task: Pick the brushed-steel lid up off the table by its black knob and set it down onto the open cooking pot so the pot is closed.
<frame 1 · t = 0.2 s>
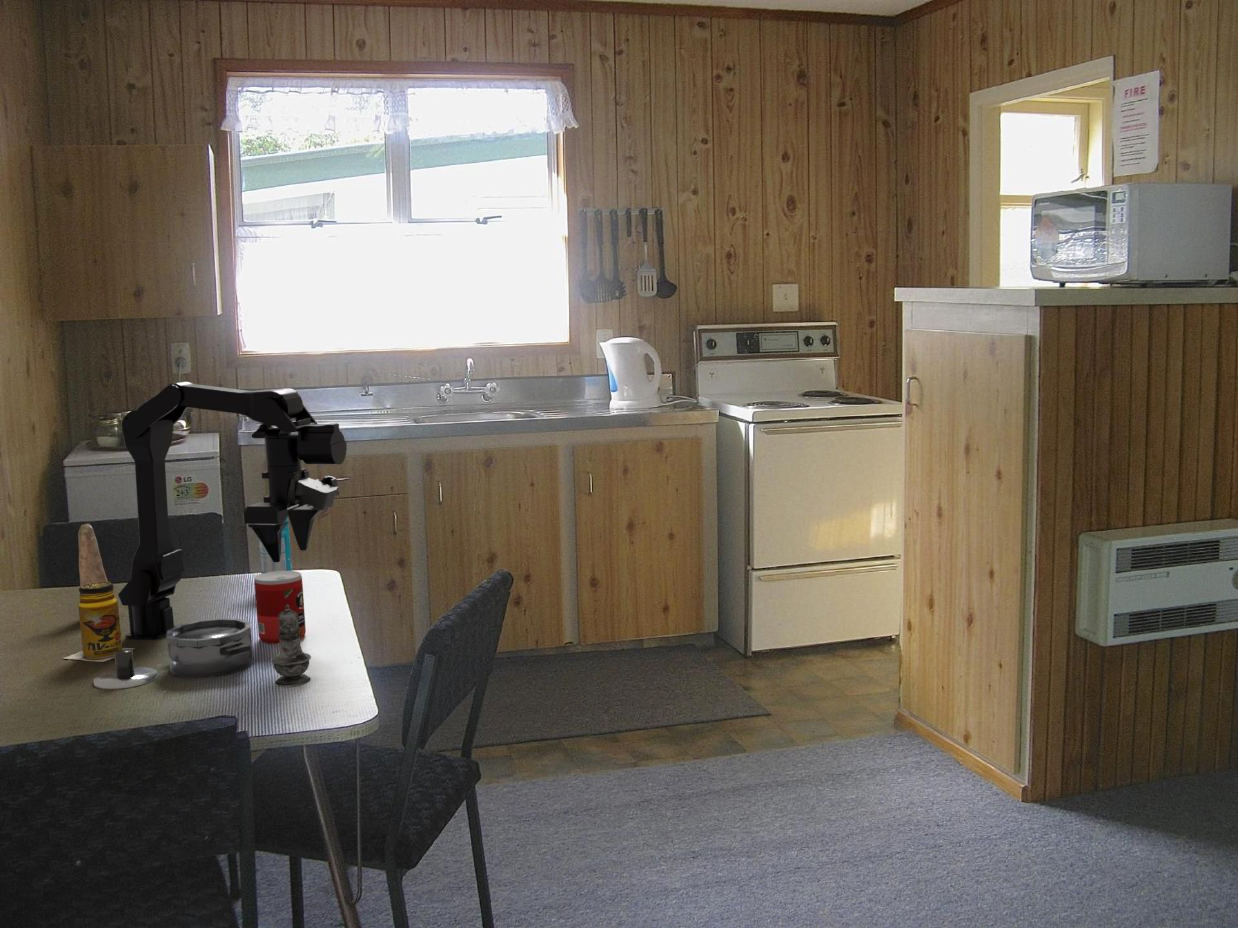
hand: (290, 556, 207), 14 cm above the table, tool pointing down, fingers open, 9 cm apart
canned food: (282, 639, 210), on the table
pot: (212, 665, 196), on the table
condiment: (99, 655, 204), on the table
salt shaker: (292, 682, 186), on the table
beverage can: (278, 590, 246), on the table
lid: (126, 681, 190), on the table
pink tall tapered cone: (100, 618, 229), on the table
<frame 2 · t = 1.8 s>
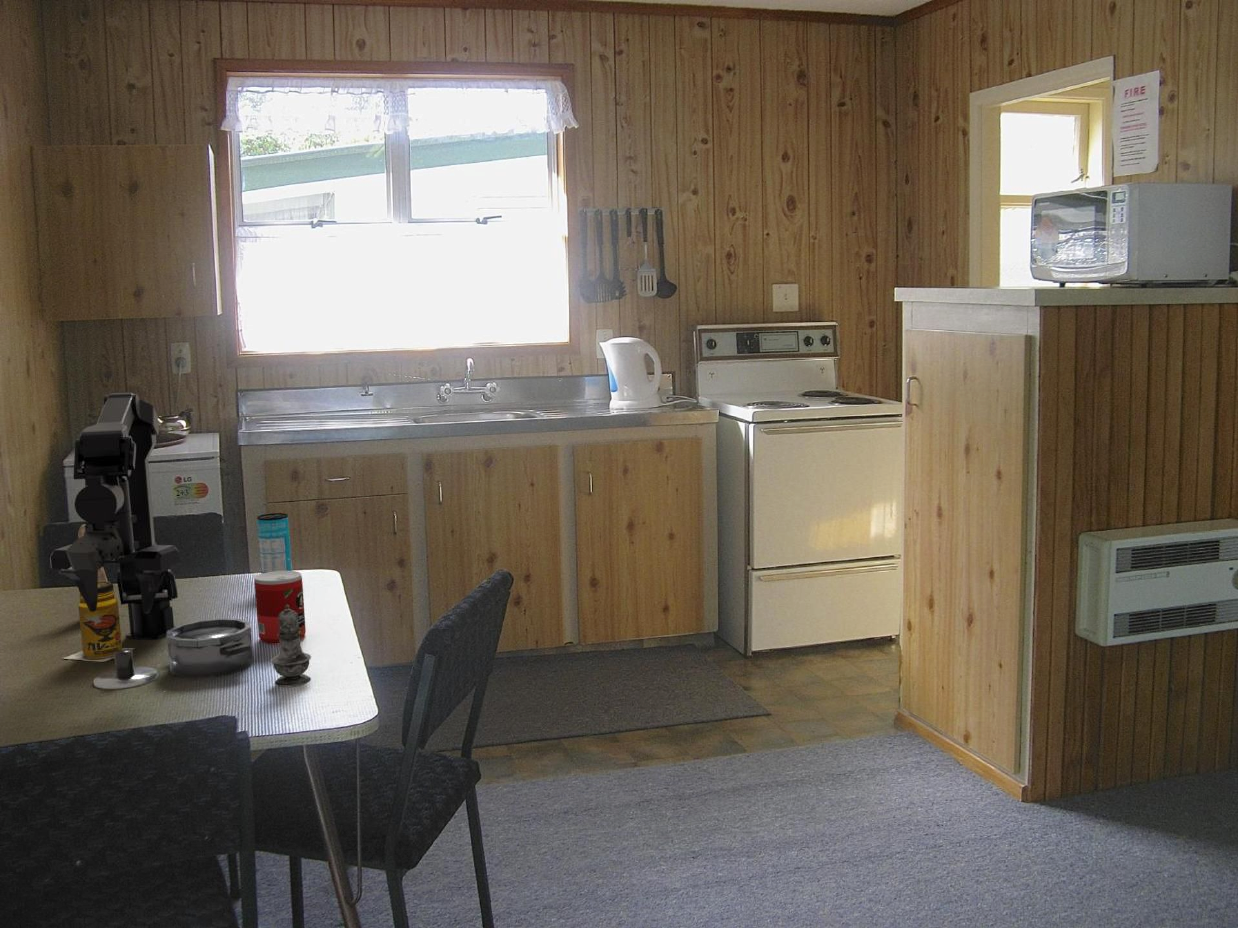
hand: (119, 611, 189), 11 cm above the table, tool pointing down, fingers open, 9 cm apart
nothing on the table moved.
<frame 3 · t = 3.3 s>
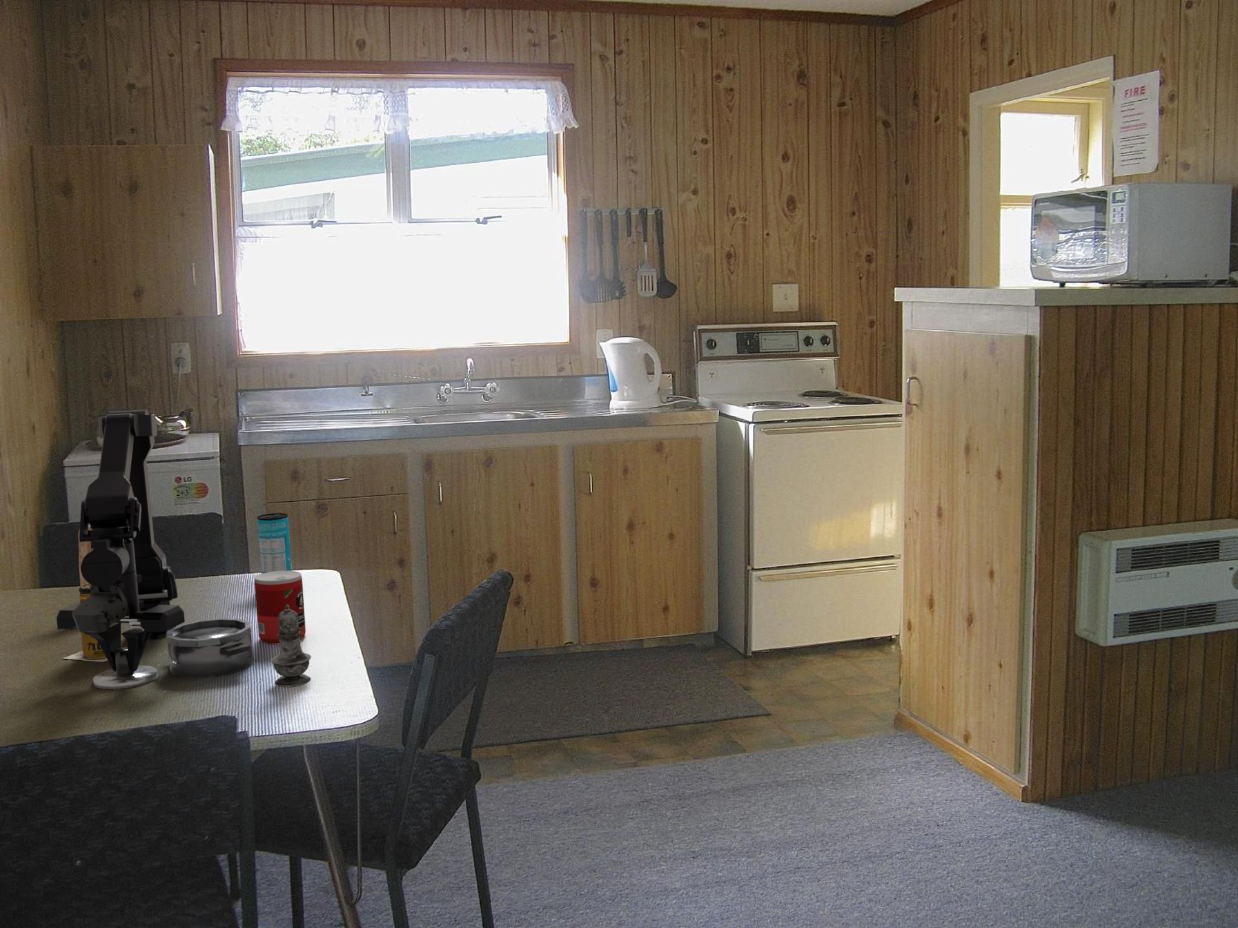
hand: (125, 671, 190), 1 cm above the table, tool pointing down, fingers closed on lid, 3 cm apart
lid: (126, 679, 190), on the table, touching gripper
everything else where it was.
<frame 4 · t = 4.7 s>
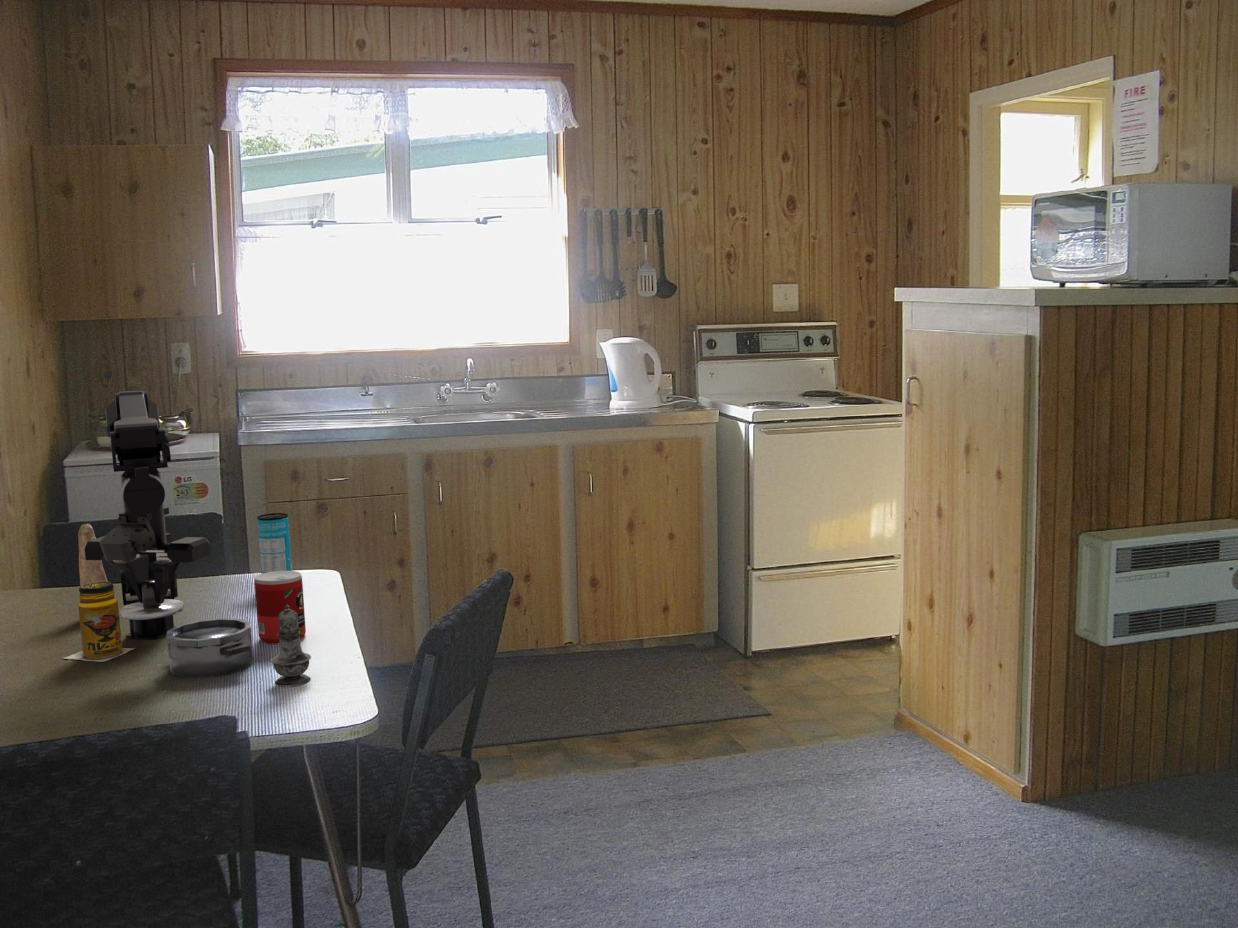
hand: (152, 603, 191), 11 cm above the table, tool pointing down, fingers closed on lid, 3 cm apart
lid: (152, 611, 191), point 10 cm above the table, touching gripper
everything else where it was.
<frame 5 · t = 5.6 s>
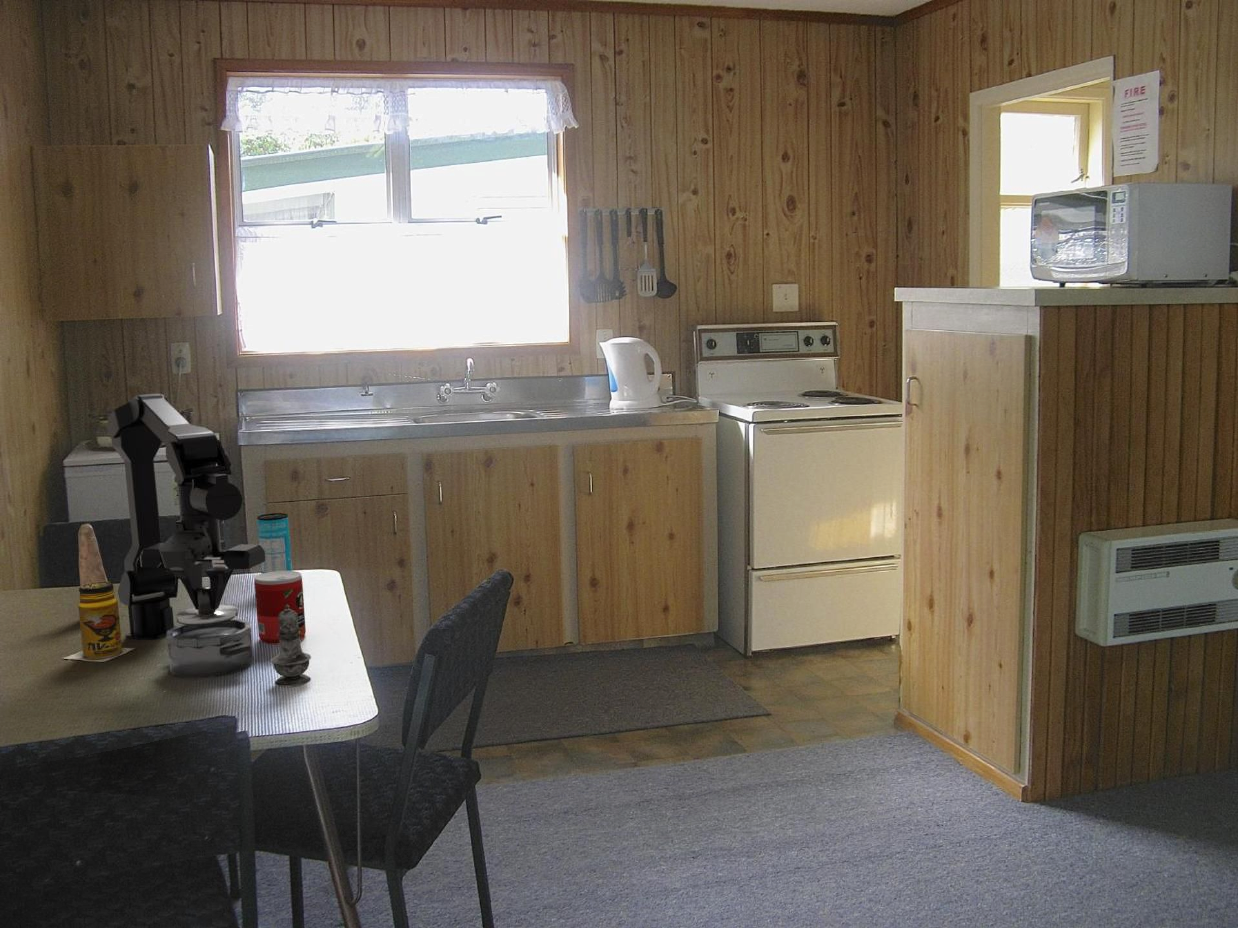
hand: (207, 609, 194), 9 cm above the table, tool pointing down, fingers closed on lid, 3 cm apart
lid: (207, 617, 195), point 8 cm above the table, touching gripper
everything else where it was.
when the fingers open (8 cm above the table, at t = 6.0 s): lid drops 1 cm, resting on pot.
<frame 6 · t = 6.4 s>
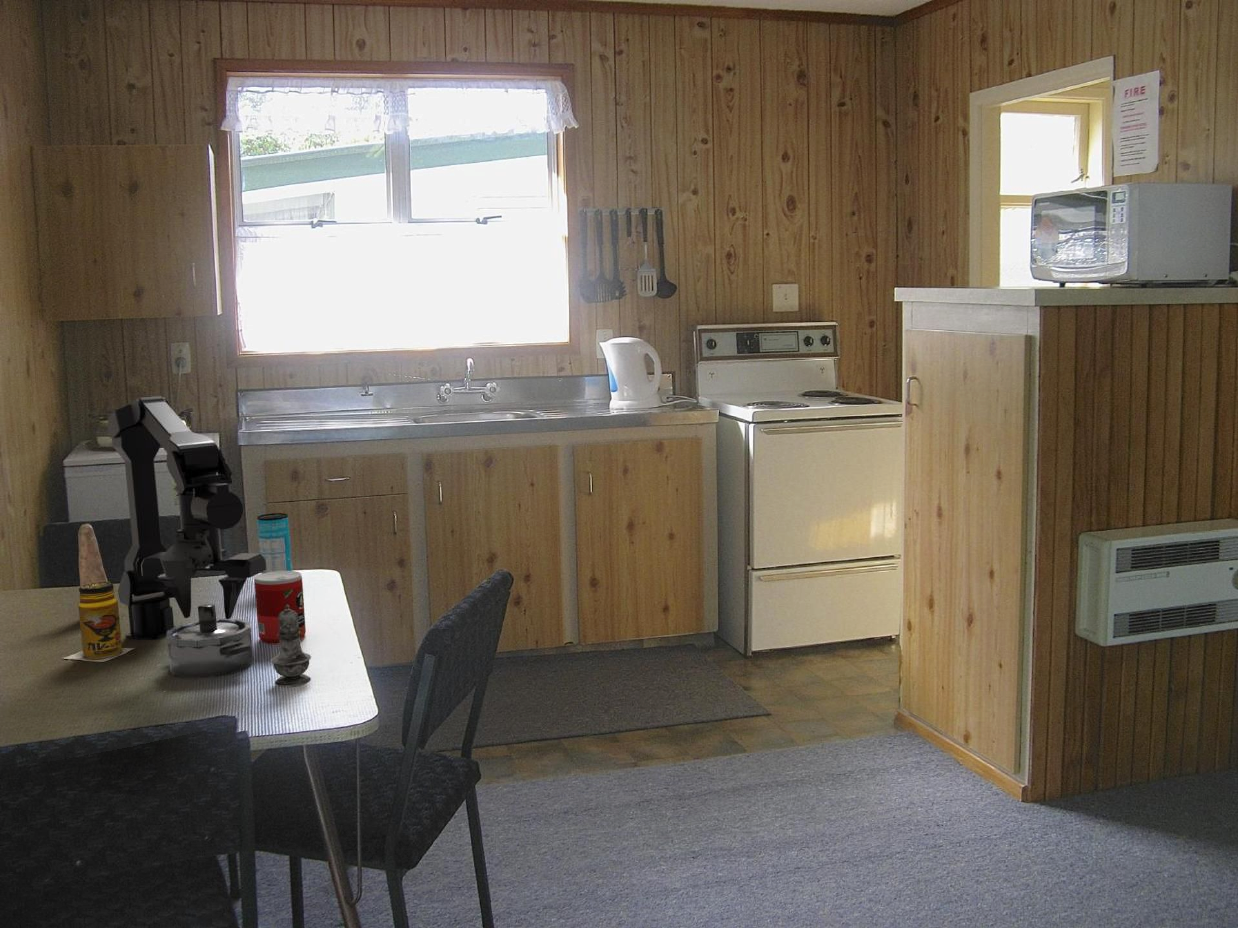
hand: (207, 617, 195), 8 cm above the table, tool pointing down, fingers open, 7 cm apart
lid: (208, 635, 195), point 5 cm above the table, touching pot
everything else where it was.
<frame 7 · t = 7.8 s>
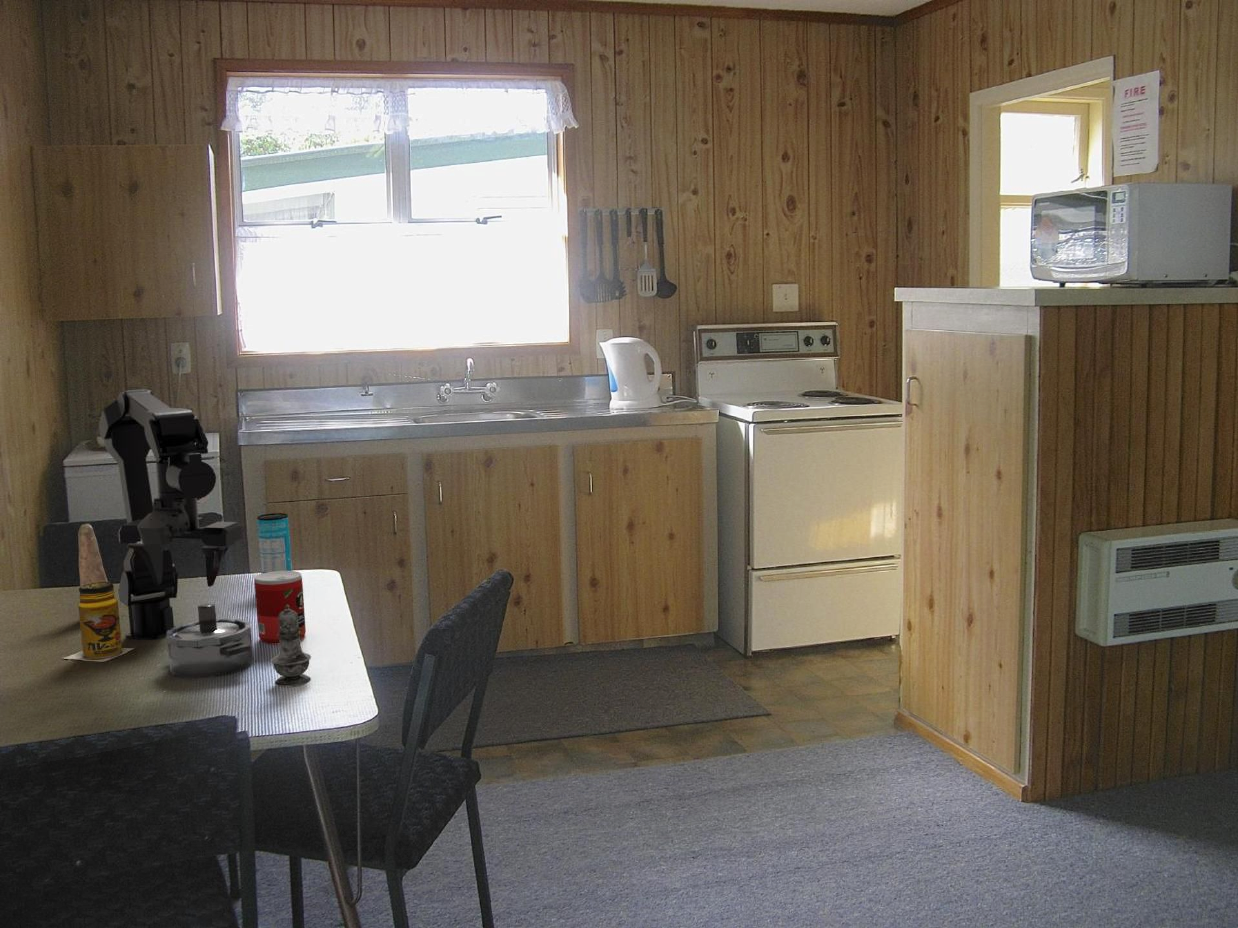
hand: (184, 584, 197), 12 cm above the table, tool pointing down, fingers open, 9 cm apart
nothing on the table moved.
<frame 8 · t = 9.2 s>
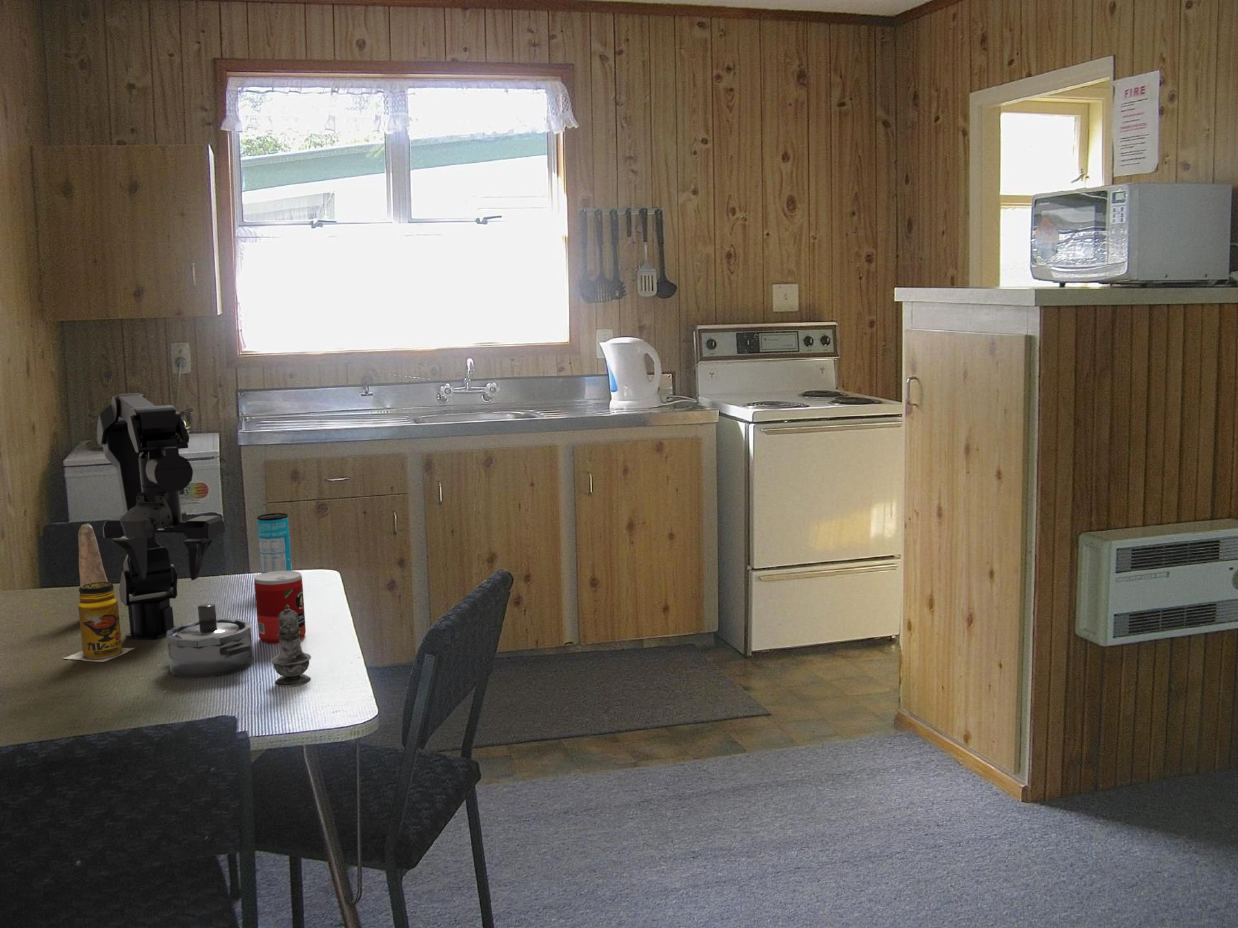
hand: (168, 579, 200), 13 cm above the table, tool pointing down, fingers open, 9 cm apart
nothing on the table moved.
at the end: lid 0.1 cm from the pot (horizontally); lid 0.1 cm off-centre on the pot, point 5.0 cm above the pot's base; lid tilted 0° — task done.
